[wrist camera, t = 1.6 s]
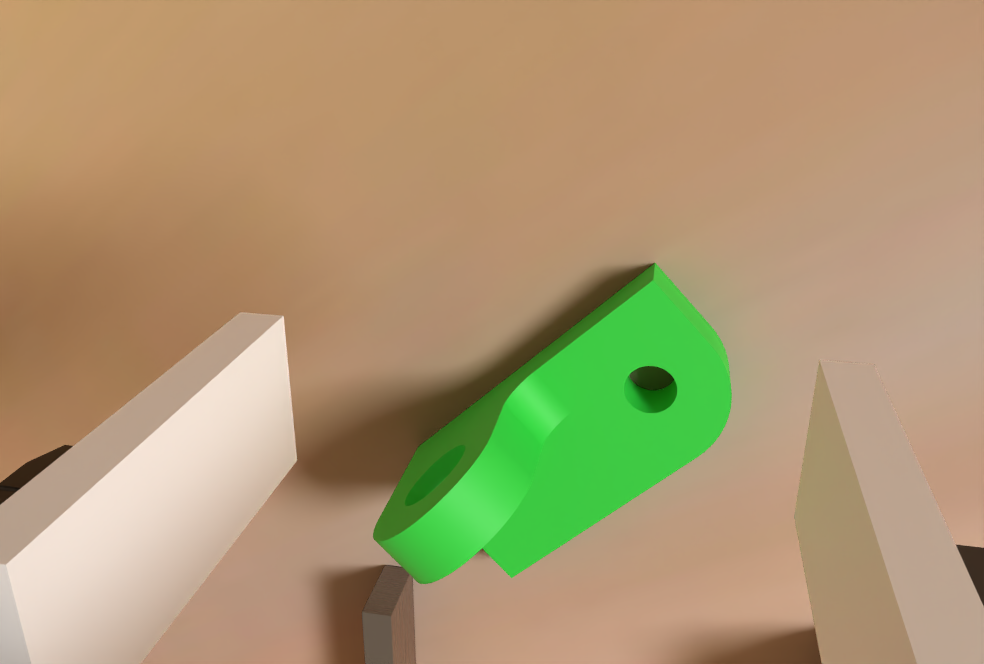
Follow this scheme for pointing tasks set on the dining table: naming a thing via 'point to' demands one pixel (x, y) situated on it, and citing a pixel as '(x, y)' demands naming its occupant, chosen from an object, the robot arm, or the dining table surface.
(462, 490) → the mechanical part
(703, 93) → the dining table surface
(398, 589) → the knobbed latch bracket
